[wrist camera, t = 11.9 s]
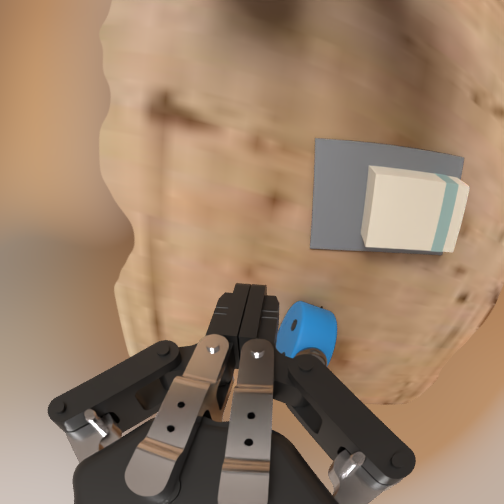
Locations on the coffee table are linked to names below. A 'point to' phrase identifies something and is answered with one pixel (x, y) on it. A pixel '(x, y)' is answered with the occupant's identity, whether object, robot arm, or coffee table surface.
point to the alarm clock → (307, 332)
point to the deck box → (412, 209)
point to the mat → (361, 187)
